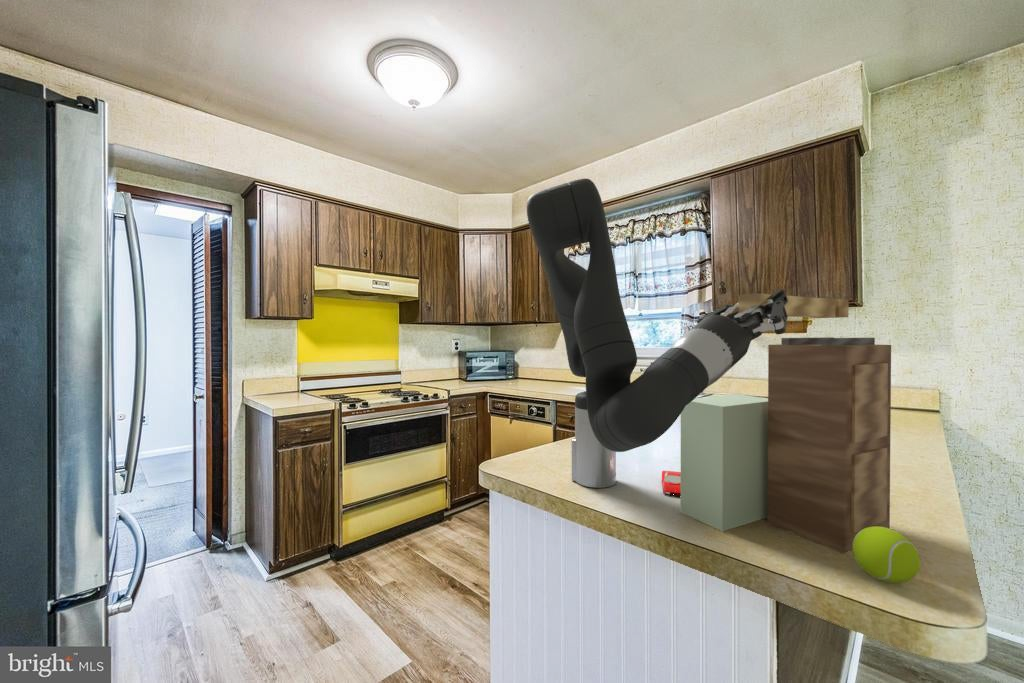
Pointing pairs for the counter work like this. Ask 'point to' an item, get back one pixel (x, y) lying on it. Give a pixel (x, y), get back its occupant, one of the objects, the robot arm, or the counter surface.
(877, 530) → the tennis ball
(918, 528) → the counter surface
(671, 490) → the toy car
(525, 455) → the counter surface
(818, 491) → the wooden cabinet
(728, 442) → the tall sage green block
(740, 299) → the wooden plank
